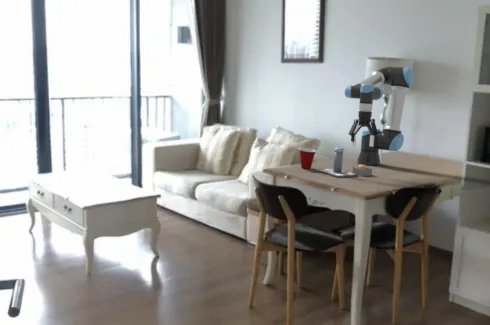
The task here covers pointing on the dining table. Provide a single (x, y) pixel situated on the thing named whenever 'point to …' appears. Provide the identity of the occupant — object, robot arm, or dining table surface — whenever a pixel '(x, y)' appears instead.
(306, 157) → the plastic cup
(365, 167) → the button
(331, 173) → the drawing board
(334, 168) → the grey tall block
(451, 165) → the dining table surface
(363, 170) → the button housing
